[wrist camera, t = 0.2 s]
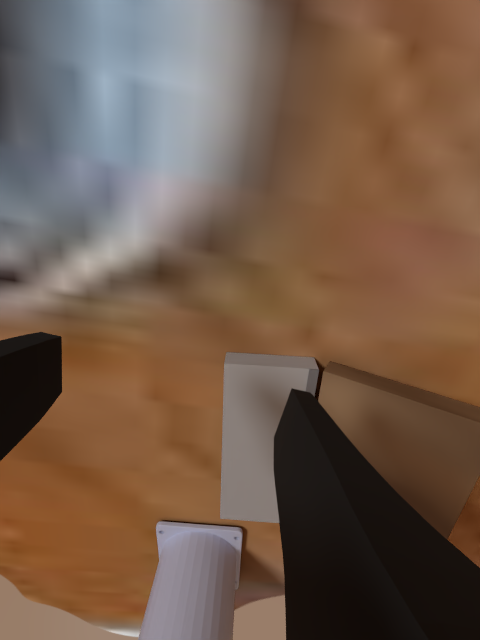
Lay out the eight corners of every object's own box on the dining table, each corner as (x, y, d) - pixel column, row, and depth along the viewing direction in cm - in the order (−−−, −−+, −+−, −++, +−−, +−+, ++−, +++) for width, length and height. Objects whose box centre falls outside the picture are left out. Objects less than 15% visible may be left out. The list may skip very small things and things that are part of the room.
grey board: (289, 506, 25) (292, 525, 23) (222, 501, 25) (220, 519, 24) (314, 357, 19) (319, 370, 18) (226, 352, 19) (224, 364, 18)
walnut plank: (416, 579, 20) (415, 602, 19) (301, 511, 25) (295, 526, 23) (496, 412, 15) (502, 429, 14) (330, 361, 19) (323, 370, 18)
